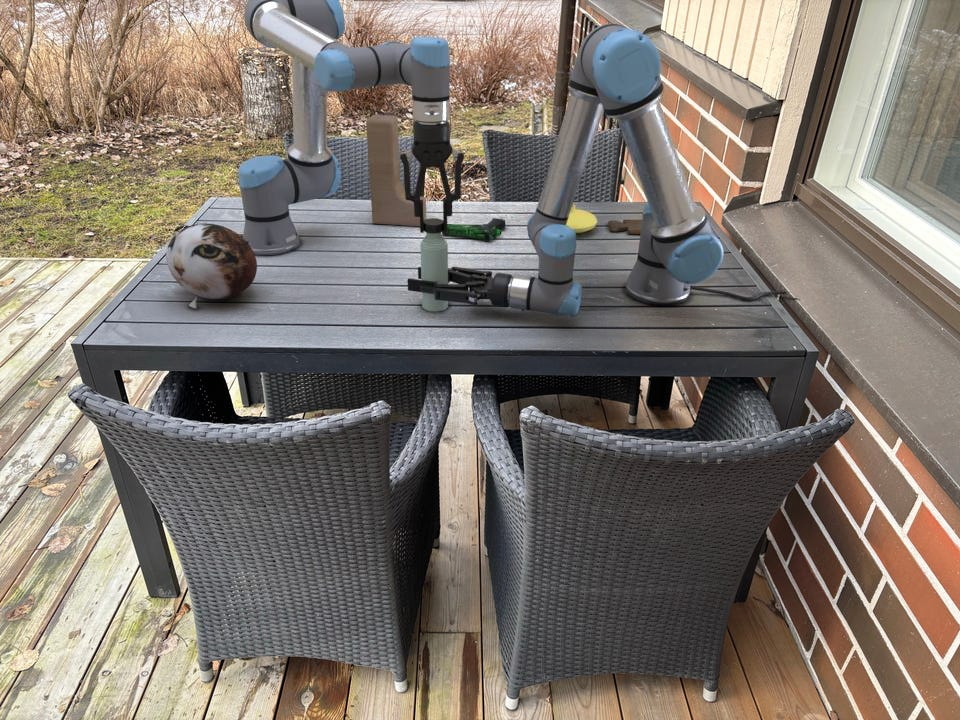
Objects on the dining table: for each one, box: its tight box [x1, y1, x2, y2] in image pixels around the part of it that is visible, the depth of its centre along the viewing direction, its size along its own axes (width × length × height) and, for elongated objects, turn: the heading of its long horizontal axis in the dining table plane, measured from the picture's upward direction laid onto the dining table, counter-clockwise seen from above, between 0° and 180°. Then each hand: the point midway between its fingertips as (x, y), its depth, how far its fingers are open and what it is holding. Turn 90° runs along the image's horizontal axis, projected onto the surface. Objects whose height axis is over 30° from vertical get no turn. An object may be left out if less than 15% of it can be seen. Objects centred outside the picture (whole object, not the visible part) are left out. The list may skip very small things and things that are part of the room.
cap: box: [424, 217, 444, 234], centre depth 156 cm, size 4×4×2 cm
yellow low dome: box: [566, 204, 598, 234], centre depth 209 cm, size 16×16×7 cm
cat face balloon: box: [165, 222, 258, 309], centre depth 165 cm, size 22×18×20 cm
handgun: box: [441, 217, 506, 242], centre depth 207 cm, size 16×3×15 cm
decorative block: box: [365, 114, 427, 227], centre depth 207 cm, size 8×15×30 cm, turn 82°
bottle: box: [419, 232, 449, 312], centre depth 161 cm, size 6×6×20 cm
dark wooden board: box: [607, 219, 642, 235], centre depth 211 cm, size 26×2×10 cm
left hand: (433, 230), depth 157 cm, fingers closed on cap, 4 cm apart
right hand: (413, 278), depth 164 cm, fingers closed on bottle, 6 cm apart
